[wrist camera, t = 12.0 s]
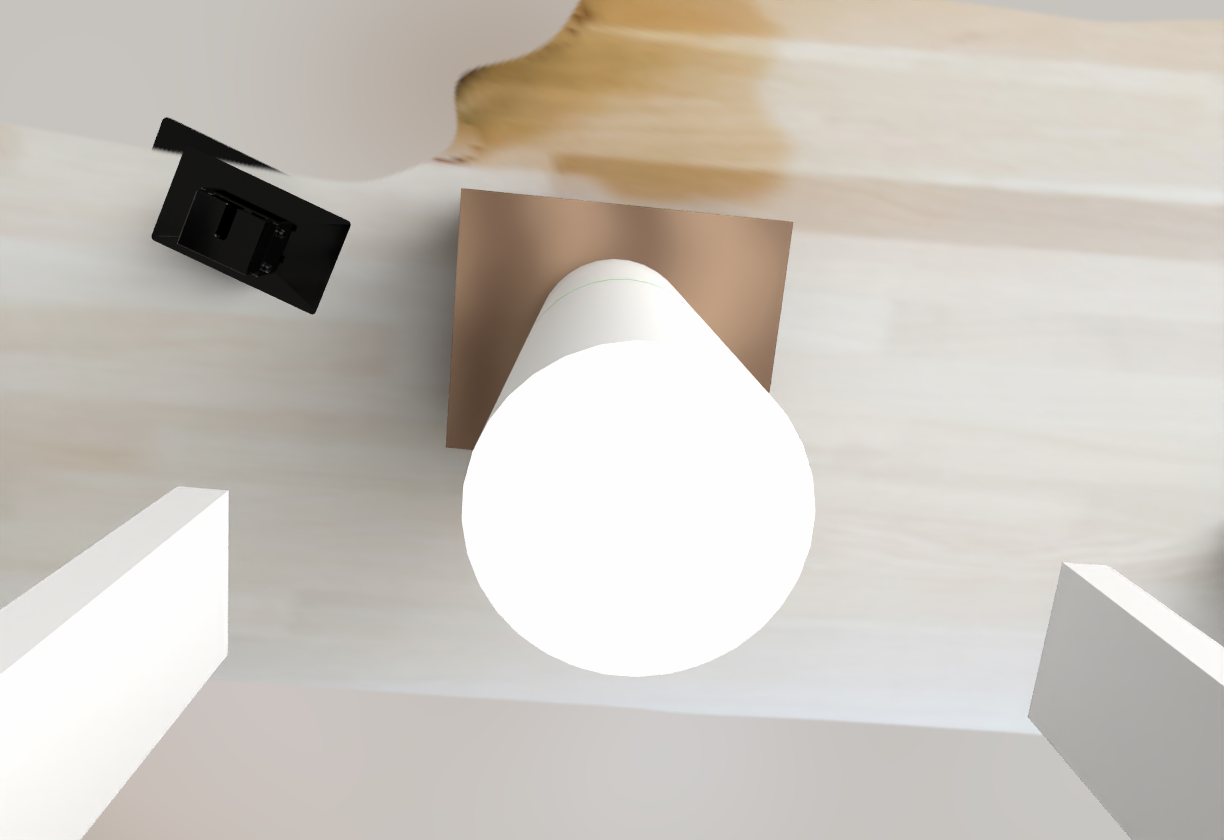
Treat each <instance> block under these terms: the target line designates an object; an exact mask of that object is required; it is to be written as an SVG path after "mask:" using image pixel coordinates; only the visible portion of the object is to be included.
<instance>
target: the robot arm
mask: <svg viewBox="0 0 1224 840" xmlns="http://www.w3.org/2000/svg"><path fill="white" fill-rule="evenodd" d="M228 496H229V490H217V489H205V488H194V487H182V486H177V487H176V488H174V489H173V490H171V491H170V492H169V493H167V494H166V495H164V496H163V497H161V498H160V499H159V500H157V501H156V502H154V503H153V504H151V505H150V506H148V507H147V508H146V509H144V510H143V511H141V512H140V513H138V514H137V515H136V516H134V517H133V518H131V519H130V520H128V521H127V522H126V523H124V524H123V525H121V526H120V527H118V528H117V529H115V530H114V531H113V532H111V533H110V534H108V535H107V536H105V537H104V538H103V539H101V540H100V541H98V542H97V543H95V544H94V545H93V546H91V547H90V548H88V549H87V550H85V551H84V552H82V553H81V554H80V555H78V556H77V557H75V558H74V559H72V560H71V561H70V562H68V563H67V564H65V565H64V566H62V567H61V568H60V569H58V570H57V571H55V572H54V573H52V574H51V575H49V576H48V577H47V578H45V579H44V580H42V581H41V582H39V583H38V584H37V585H35V586H34V587H32V588H31V589H29V590H28V591H27V592H25V593H24V594H22V595H21V596H19V597H18V598H16V599H15V600H14V601H12V602H11V603H9V604H8V605H6V606H5V607H4V608H2V609H1V610H0V840H81V838H82V837H83V836H84V835H85V833H86V832H87V831H88V830H89V829H90V827H91V826H92V824H94V822H95V821H96V820H97V818H98V817H99V816H100V815H101V813H102V812H103V811H104V810H105V808H106V807H107V806H108V805H109V803H110V802H111V801H112V800H113V798H114V797H115V796H116V795H117V793H118V792H119V791H120V790H121V788H122V787H123V786H124V785H125V783H126V782H127V781H128V779H129V778H130V777H131V776H132V774H133V773H134V772H135V771H136V769H137V768H138V767H139V766H140V764H141V763H142V762H143V761H144V759H145V758H146V757H147V756H148V754H149V753H150V752H151V751H152V749H153V748H154V747H155V745H156V744H157V743H158V742H159V740H160V739H161V738H162V737H163V735H164V734H165V733H166V732H167V730H168V729H169V728H170V727H171V725H172V724H173V723H174V722H175V720H176V719H177V718H178V717H179V715H180V714H181V713H182V712H183V710H184V709H185V708H186V706H187V705H188V704H189V703H190V701H191V700H192V699H193V698H194V696H195V695H196V694H197V693H198V691H199V690H200V689H201V687H202V686H203V685H204V684H205V683H206V681H207V680H208V679H209V678H210V676H211V675H212V674H213V673H214V671H215V670H216V669H217V667H218V666H219V665H220V664H221V662H222V661H223V660H224V659H225V657H226V656H227V655H228ZM1028 718H1029V719H1030V720H1031V721H1032V722H1033V724H1034V725H1035V726H1036V727H1037V728H1038V729H1039V731H1040V732H1041V733H1042V734H1043V735H1044V737H1045V738H1046V739H1047V740H1048V741H1049V742H1050V744H1051V745H1052V746H1053V747H1054V748H1055V749H1056V751H1057V752H1058V753H1059V754H1060V756H1061V757H1062V758H1063V759H1064V760H1065V761H1066V763H1067V764H1068V765H1069V766H1070V767H1071V769H1072V770H1073V771H1074V772H1075V773H1076V774H1077V776H1078V777H1079V778H1080V779H1081V780H1082V782H1084V784H1085V785H1086V786H1087V787H1088V789H1089V790H1090V791H1091V792H1092V793H1093V795H1094V796H1095V797H1096V798H1097V799H1098V800H1099V802H1100V803H1101V804H1102V805H1103V806H1104V807H1105V809H1106V810H1107V811H1108V812H1109V813H1110V815H1111V816H1112V817H1113V818H1114V819H1115V821H1116V822H1117V823H1118V824H1119V825H1120V827H1121V828H1122V829H1123V830H1124V831H1125V832H1126V833H1127V835H1128V836H1129V837H1130V838H1131V840H1224V647H1223V646H1221V645H1220V644H1219V643H1217V642H1216V641H1214V640H1213V639H1212V638H1210V637H1209V636H1207V635H1206V634H1204V633H1203V632H1202V631H1200V630H1199V629H1197V628H1196V627H1195V626H1193V625H1192V624H1190V623H1189V622H1187V621H1186V620H1185V619H1183V618H1182V617H1180V616H1179V615H1178V614H1176V613H1175V612H1173V611H1172V610H1171V609H1169V608H1168V607H1166V606H1165V605H1163V604H1162V603H1161V602H1159V601H1158V600H1156V599H1155V598H1154V597H1152V596H1151V595H1149V594H1148V593H1146V592H1145V591H1144V590H1142V589H1141V588H1139V587H1138V586H1137V585H1135V584H1134V583H1132V582H1131V581H1130V580H1128V579H1127V578H1125V577H1124V576H1122V575H1121V574H1120V573H1118V572H1117V571H1115V570H1114V569H1113V568H1111V567H1110V566H1103V565H1091V564H1080V563H1068V562H1062V566H1061V571H1060V575H1059V580H1058V584H1057V589H1056V593H1055V598H1054V602H1053V607H1052V611H1051V615H1050V620H1049V624H1048V629H1047V633H1046V638H1045V642H1044V647H1043V651H1042V656H1041V660H1040V665H1039V669H1038V673H1037V678H1036V682H1035V687H1034V691H1033V696H1032V700H1031V705H1030V709H1029V714H1028Z"/></svg>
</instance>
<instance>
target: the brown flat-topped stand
mask: <svg viewBox="0 0 1224 840" xmlns="http://www.w3.org/2000/svg"><path fill="white" fill-rule="evenodd" d="M792 228H793V222H788V221H779V220H769V219H759V218H749V217H740V216H730V215H720V214H710V213H700V212H690V211H680V210H671V209H661V208H651V207H641V206H631V205H621V204H612V203H602V202H592V201H582V200H572V199H562V198H552V197H543V196H533V195H523V194H513V193H503V192H493V191H483V190H474V189H463V188H461V202H460V219H459V236H458V252H457V269H456V286H455V303H454V319H453V336H452V353H451V369H450V386H449V403H448V420H447V436H446V447H448V448H459V449H470V450H474V448H475V446H476V444H477V442H478V439H479V437H480V435H481V433H482V431H483V429H484V427H485V425H486V423H487V421H488V419H489V417H490V414H491V412H492V410H493V408H494V406H495V404H496V402H497V400H498V398H499V396H500V394H501V392H502V389H503V387H504V385H505V383H506V381H507V379H508V377H509V375H510V373H511V371H512V369H513V367H514V365H515V362H516V360H517V358H518V356H519V354H520V352H521V350H522V348H523V346H524V344H525V342H526V340H527V337H528V335H529V333H530V331H531V329H532V327H533V325H534V323H535V321H536V319H537V317H538V315H539V313H540V311H541V309H542V307H543V305H544V303H545V301H546V299H547V297H548V295H549V294H550V292H551V291H552V290H553V289H554V287H555V286H556V285H557V283H558V282H560V281H561V280H562V279H563V278H564V277H565V276H566V275H568V274H569V273H570V272H572V271H574V270H576V269H577V268H579V267H581V266H583V265H586V264H589V263H592V262H595V261H600V260H608V259H619V260H629V261H633V262H636V263H639V264H642V265H645V266H647V267H649V268H650V269H652V270H654V271H656V272H658V273H659V274H660V275H661V276H663V277H664V278H665V279H666V280H667V281H668V282H669V283H670V284H671V285H672V286H673V287H674V288H675V289H676V290H677V292H678V293H679V294H680V295H681V296H682V297H683V298H684V299H685V301H686V302H687V303H688V304H689V305H690V306H691V307H692V308H693V309H694V311H695V312H696V313H697V314H698V315H699V316H700V317H701V318H702V320H703V321H704V322H705V323H706V324H707V325H708V326H709V327H710V328H711V330H712V331H713V332H714V333H715V334H716V335H717V336H718V337H719V338H720V340H721V341H722V342H723V343H724V344H725V345H726V346H727V347H728V349H729V350H730V351H731V352H732V353H733V354H734V355H735V356H736V357H737V359H738V360H739V361H740V362H741V363H742V364H743V365H744V366H745V368H746V369H747V370H748V371H749V372H750V373H751V374H752V375H753V376H754V378H755V379H756V380H757V381H758V382H759V383H760V384H761V385H762V387H763V388H764V389H765V390H766V391H767V392H768V393H769V392H770V385H771V378H772V370H773V363H774V356H775V349H776V342H777V335H778V328H779V321H780V314H781V306H782V299H783V292H784V285H785V278H786V271H787V264H788V257H789V249H790V242H791V235H792Z"/></svg>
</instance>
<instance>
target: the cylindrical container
mask: <svg viewBox="0 0 1224 840" xmlns="http://www.w3.org/2000/svg"><path fill="white" fill-rule="evenodd" d="M814 518H815V502H814V488H813V477H812V474H811V470H810V467H809V463H808V460H807V457H806V453H805V450H804V446H803V444H802V442H801V440H800V438H799V437H798V435H797V433H796V431H795V429H794V427H793V426H792V424H791V422H790V420H789V418H788V416H787V415H786V414H785V413H784V411H783V410H782V409H781V408H780V407H779V405H778V404H777V403H776V402H775V401H774V399H773V398H772V397H771V396H770V395H769V393H768V392H767V391H766V390H765V389H764V388H763V387H762V385H761V384H760V383H759V382H758V381H757V380H756V379H755V378H754V376H753V375H752V374H751V373H750V372H749V371H748V370H747V369H746V368H745V366H744V365H743V364H742V363H741V362H740V361H739V360H738V359H737V357H736V356H735V355H734V354H733V353H732V352H731V351H730V350H729V349H728V347H727V346H726V345H725V344H724V343H723V342H722V341H721V340H720V338H719V337H718V336H717V335H716V334H715V333H714V332H713V331H712V330H711V328H710V327H709V326H708V325H707V324H706V323H705V322H704V321H703V320H702V318H701V317H700V316H699V315H698V314H697V313H696V312H695V311H694V309H693V308H692V307H691V306H690V305H689V304H688V303H687V302H686V301H685V299H684V298H683V297H682V296H681V295H680V294H679V293H678V292H677V290H676V289H675V288H674V287H673V286H672V285H671V284H670V283H669V282H668V281H667V280H666V279H665V278H664V277H663V276H661V275H660V274H659V273H658V272H656V271H654V270H652V269H650V268H649V267H647V266H645V265H642V264H639V263H636V262H633V261H629V260H619V259H608V260H600V261H595V262H592V263H589V264H586V265H583V266H581V267H579V268H577V269H576V270H574V271H572V272H570V273H569V274H568V275H566V276H565V277H564V278H563V279H562V280H561V281H560V282H558V283H557V285H556V286H555V287H554V289H553V290H552V291H551V292H550V294H549V295H548V297H547V299H546V301H545V303H544V305H543V307H542V309H541V311H540V313H539V315H538V317H537V319H536V321H535V323H534V325H533V327H532V329H531V331H530V333H529V335H528V337H527V340H526V342H525V344H524V346H523V348H522V350H521V352H520V354H519V356H518V358H517V360H516V362H515V365H514V367H513V369H512V371H511V373H510V375H509V377H508V379H507V381H506V383H505V385H504V387H503V389H502V392H501V394H500V396H499V398H498V400H497V402H496V404H495V406H494V408H493V410H492V412H491V414H490V417H489V419H488V421H487V423H486V425H485V427H484V429H483V431H482V433H481V435H480V437H479V439H478V442H477V444H476V446H475V448H474V450H473V452H472V456H471V460H470V463H469V467H468V470H467V474H466V478H465V481H464V485H463V504H462V525H463V531H464V537H465V543H466V549H467V554H468V557H469V559H470V562H471V564H472V567H473V569H474V572H475V575H476V577H477V580H478V582H479V585H480V586H481V588H482V589H483V591H484V592H485V594H486V595H487V597H488V599H489V600H490V602H491V603H492V605H493V606H494V608H495V609H496V611H497V612H498V613H499V614H500V615H501V616H502V617H503V618H504V619H505V620H506V621H507V623H508V624H509V625H510V626H511V627H512V628H513V629H514V630H515V631H516V632H517V633H518V634H519V635H521V636H522V637H524V638H525V639H526V640H528V641H529V642H530V643H532V644H533V645H535V646H536V647H537V648H539V649H540V650H542V651H543V652H545V653H547V654H549V655H551V656H553V657H556V658H558V659H560V660H562V661H564V662H566V663H568V664H570V665H572V666H576V667H580V668H583V669H587V670H591V671H595V672H599V673H602V674H608V675H622V676H636V677H643V676H652V675H660V674H669V673H676V672H679V671H682V670H685V669H689V668H692V667H695V666H698V665H702V664H705V663H708V662H710V661H712V660H714V659H715V658H717V657H719V656H721V655H723V654H725V653H727V652H729V651H731V650H733V649H734V648H736V647H738V646H739V645H740V644H742V643H743V642H744V641H745V640H747V639H748V638H749V637H751V636H752V635H753V634H755V633H756V632H757V631H758V630H760V629H761V628H762V627H763V626H764V625H765V623H766V622H767V621H768V620H769V619H770V618H771V617H772V616H773V615H774V614H775V612H776V611H777V610H778V609H779V608H780V607H781V606H782V604H783V603H784V601H785V599H786V598H787V596H788V595H789V593H790V591H791V590H792V588H793V586H794V585H795V583H796V582H797V580H798V578H799V576H800V573H801V570H802V568H803V565H804V562H805V560H806V557H807V554H808V551H809V549H810V545H811V538H812V531H813V525H814Z"/></svg>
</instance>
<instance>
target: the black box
mask: <svg viewBox="0 0 1224 840" xmlns="http://www.w3.org/2000/svg"><path fill="white" fill-rule="evenodd" d="M152 149H153V150H158V151H163V152H168V153H175V154H180V155H182V157H181V160H180V162H179V165H178V168H177V170H176V173H175V175H174V178H173V181H172V183H171V186H170V189H169V191H168V194H167V196H166V199H165V202H164V204H163V207H162V210H161V212H160V215H159V218H158V220H157V223H156V225H155V228H154V231H153V233H152V239H153V240H154V241H156V242H158V243H161V244H163V245H165V246H167V247H169V248H171V249H173V250H175V251H178V252H180V253H182V254H184V255H186V256H188V257H190V258H192V259H195V260H197V261H199V262H201V263H203V264H205V265H207V266H210V267H212V268H214V269H216V270H218V271H220V272H222V273H224V274H227V275H229V276H231V277H233V278H235V279H237V280H239V281H241V282H244V283H246V284H248V285H250V286H252V287H254V288H256V289H259V290H261V291H263V292H265V293H267V294H269V295H271V296H273V297H276V298H278V299H280V300H282V301H284V302H286V303H288V304H290V305H293V306H295V307H297V308H299V309H301V310H303V311H305V312H308V313H310V314H315V312H316V310H317V308H318V305H319V303H320V300H321V298H322V295H323V293H324V290H325V288H326V285H327V283H328V280H329V278H330V275H331V273H332V270H333V268H334V265H335V263H336V260H337V258H338V256H339V253H340V251H341V248H342V246H343V243H344V241H345V238H346V236H347V233H348V231H349V228H350V226H351V224H350V222H349V221H347V220H345V219H343V218H341V217H339V216H337V215H335V214H333V213H331V212H328V211H326V210H324V209H322V208H320V207H318V206H316V205H314V204H312V203H309V202H307V201H305V200H303V199H301V198H299V197H297V196H295V195H293V194H290V193H288V192H286V191H284V190H282V189H280V188H278V187H276V186H274V185H271V184H269V183H267V182H265V181H263V180H261V179H259V178H257V177H255V176H252V175H250V174H248V173H246V172H244V171H242V170H240V169H238V168H236V167H233V166H231V165H229V164H227V163H230V164H236V165H242V166H247V167H252V168H258V169H265V170H270V171H275V172H280V173H284V172H282V171H280V170H278V169H275V168H273V167H271V166H269V165H267V164H265V163H263V162H261V161H259V160H257V159H255V158H252V157H250V156H248V155H246V154H244V153H242V152H240V151H238V150H236V149H234V148H232V147H230V146H227V145H226V144H224V143H221V142H219V141H217V140H215V139H213V138H211V137H209V136H207V135H205V134H203V133H201V132H199V131H196V130H194V129H192V128H190V127H188V126H186V125H184V124H182V123H180V122H178V121H176V120H174V119H172V118H168V117H166V118H164V119H163V120H162V122H161V125H160V128H159V131H158V133H157V136H156V139H155V142H154V144H153V147H152Z"/></svg>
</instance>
